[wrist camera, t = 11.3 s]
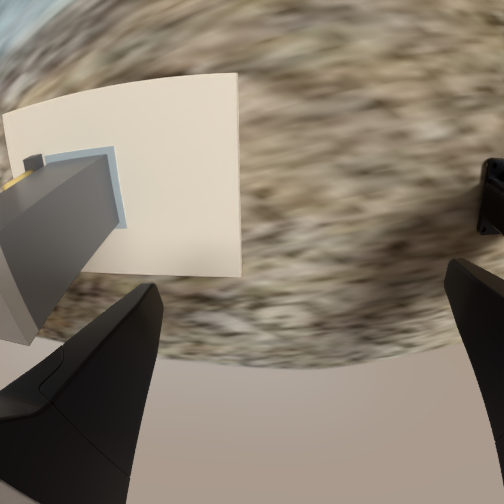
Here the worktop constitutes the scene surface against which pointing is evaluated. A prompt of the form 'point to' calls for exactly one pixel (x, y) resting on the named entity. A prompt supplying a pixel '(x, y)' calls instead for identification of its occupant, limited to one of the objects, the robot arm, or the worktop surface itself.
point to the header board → (150, 168)
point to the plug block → (50, 238)
